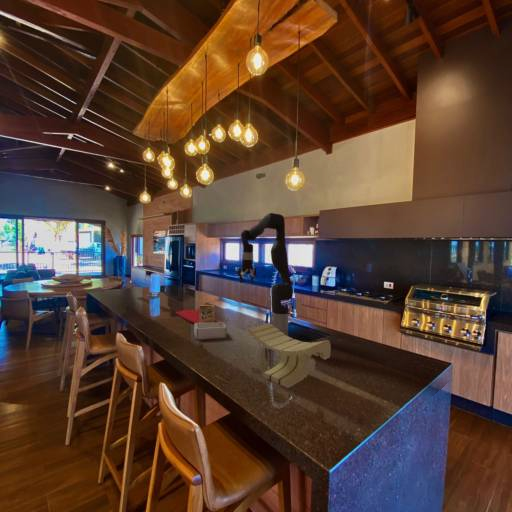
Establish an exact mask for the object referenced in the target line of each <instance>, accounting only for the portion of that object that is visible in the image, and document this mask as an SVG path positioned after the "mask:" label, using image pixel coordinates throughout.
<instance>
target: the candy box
mask: <svg viewBox="0 0 512 512" xmlns="http://www.w3.org/2000/svg"><path fill="white" fill-rule="evenodd" d="M215 307H216V305H215V304H200V305H199V312H200V317H199V323H207V322H214V319H215V310H216V309H215Z"/></svg>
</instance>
